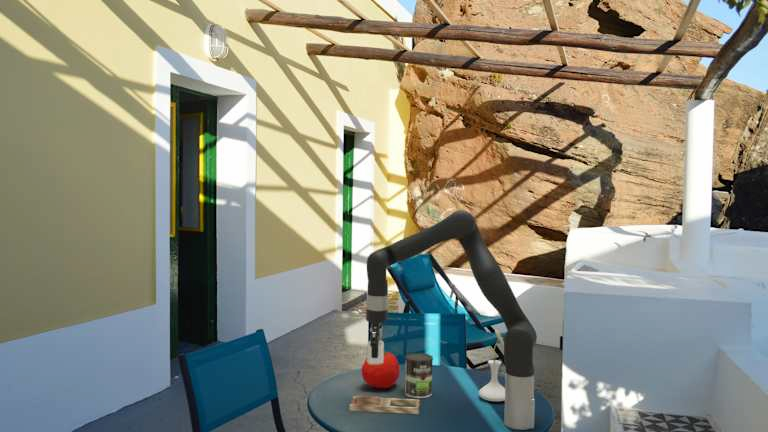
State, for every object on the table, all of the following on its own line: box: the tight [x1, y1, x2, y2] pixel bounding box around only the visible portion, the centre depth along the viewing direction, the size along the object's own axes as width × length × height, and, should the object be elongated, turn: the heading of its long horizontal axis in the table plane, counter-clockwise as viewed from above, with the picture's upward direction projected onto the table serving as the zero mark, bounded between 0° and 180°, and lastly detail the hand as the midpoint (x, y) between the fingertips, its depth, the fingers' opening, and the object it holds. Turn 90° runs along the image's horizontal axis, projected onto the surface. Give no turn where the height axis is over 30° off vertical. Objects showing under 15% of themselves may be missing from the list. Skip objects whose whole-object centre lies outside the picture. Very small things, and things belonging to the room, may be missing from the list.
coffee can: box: [404, 352, 434, 399], centre depth 228 cm, size 10×10×14 cm
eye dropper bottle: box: [366, 337, 385, 365], centre depth 213 cm, size 4×6×12 cm
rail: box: [348, 395, 421, 415], centre depth 213 cm, size 24×8×2 cm, turn 84°
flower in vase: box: [477, 329, 505, 402], centre depth 224 cm, size 13×11×25 cm
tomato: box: [361, 350, 400, 389], centre depth 234 cm, size 16×14×14 cm
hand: (375, 355), depth 213 cm, fingers closed on eye dropper bottle, 4 cm apart
